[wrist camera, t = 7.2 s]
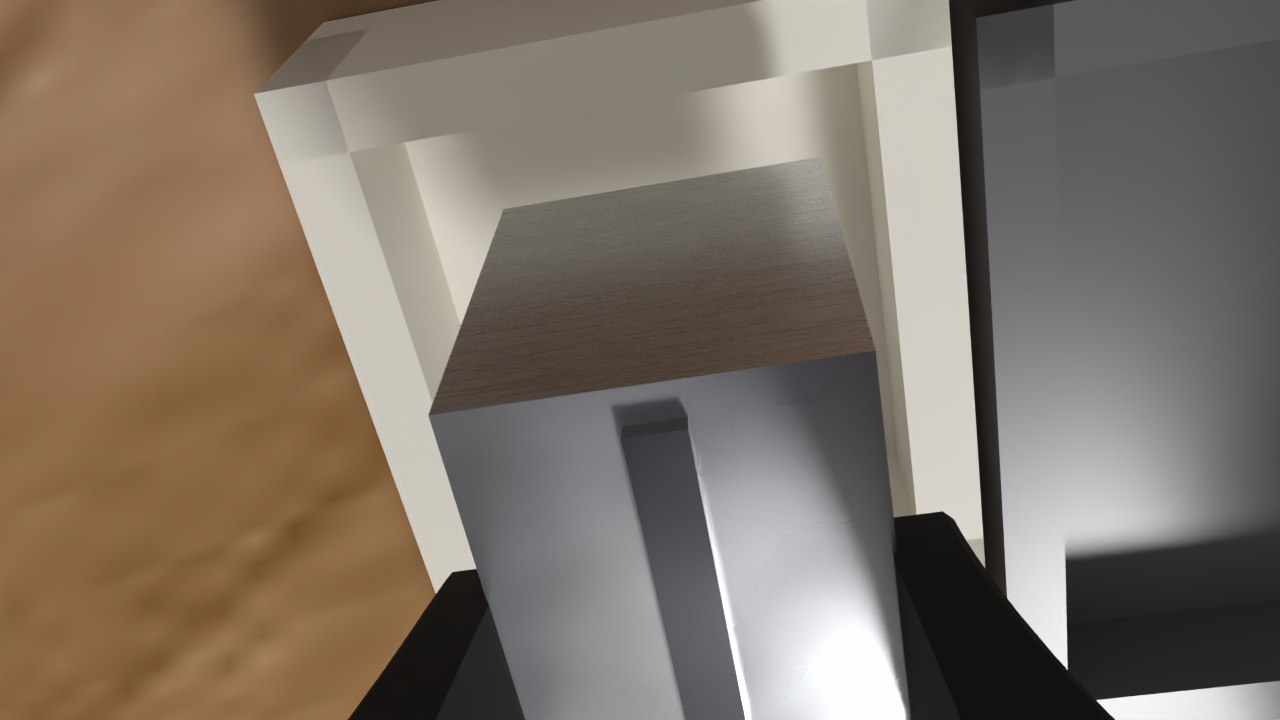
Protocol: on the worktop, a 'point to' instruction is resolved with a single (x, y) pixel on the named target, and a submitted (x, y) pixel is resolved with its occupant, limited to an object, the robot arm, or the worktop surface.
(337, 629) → the worktop surface
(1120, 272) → the tote
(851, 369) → the block
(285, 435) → the worktop surface
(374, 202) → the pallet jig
